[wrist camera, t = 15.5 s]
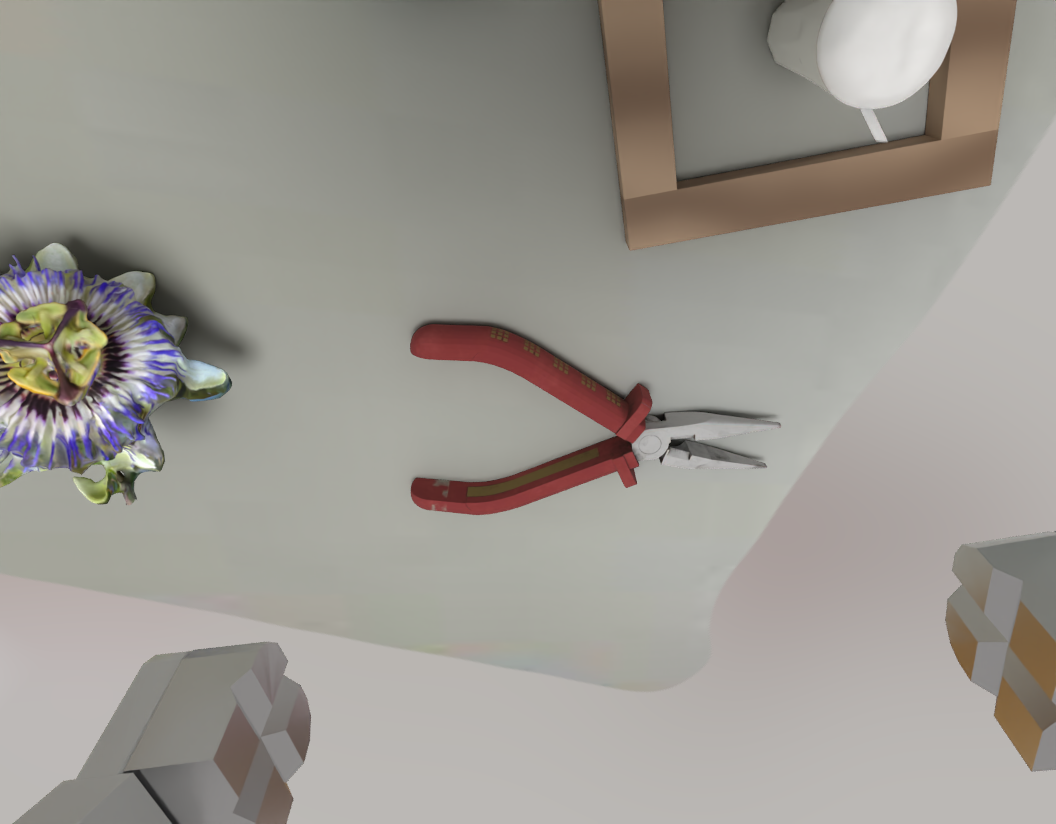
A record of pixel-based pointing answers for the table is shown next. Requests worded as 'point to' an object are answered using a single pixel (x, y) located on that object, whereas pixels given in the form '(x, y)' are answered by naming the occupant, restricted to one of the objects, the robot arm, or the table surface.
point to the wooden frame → (807, 183)
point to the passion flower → (88, 373)
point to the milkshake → (864, 48)
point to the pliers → (621, 416)
